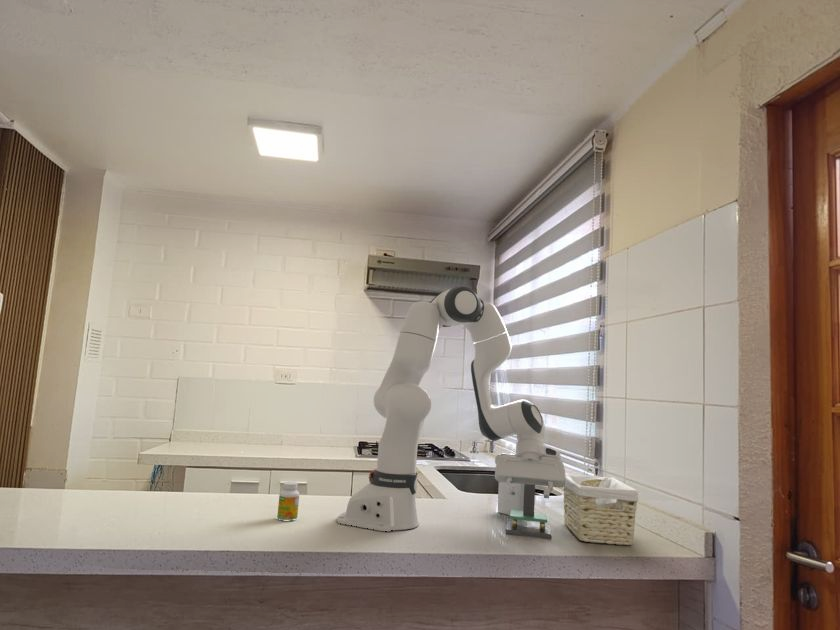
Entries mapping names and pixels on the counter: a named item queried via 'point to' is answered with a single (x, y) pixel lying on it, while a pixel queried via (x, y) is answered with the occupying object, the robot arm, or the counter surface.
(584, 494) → the storage basket
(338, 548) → the counter surface
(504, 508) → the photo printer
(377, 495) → the robot arm
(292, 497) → the supplement bottle
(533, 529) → the chassis
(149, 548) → the counter surface
